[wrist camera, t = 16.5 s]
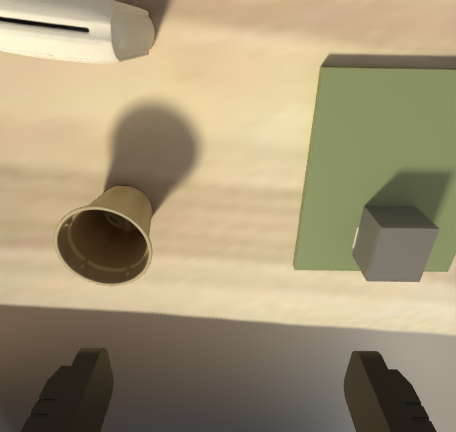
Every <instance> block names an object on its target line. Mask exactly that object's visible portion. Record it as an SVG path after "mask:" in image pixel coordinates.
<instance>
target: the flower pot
mask: <svg viewBox="0 0 456 432" xmlns="http://www.w3.org/2000/svg"><path fill="white" fill-rule="evenodd" d="M110 216H111V217H113V218H115V220H116V221H117V223H116V222H114V221H113V220H112V219H111V218H110ZM151 218H152V206H151V203H150V201H149V199H148V198H147V197H146V195H145V194H143V193H142V192H141V191H139V190H138V189H136V188H134V187H129V186H114V187H112V188H110V189H108V190H107V191H105V192H104V193H103V194H102V195H101V196H99V197H98V198H97V199H96V200H94V201H93V202H92V203H90V204H89V205H88V206H85V207H80V208H78V209H75V210H73V211H71V212H69V213H68V214H67V215H65V216H64V217H63V218H62V219H61V221H60V222H59V224H58V225H57V227H56V230H55V234H54V246H55V249H56V253H57V255H58V257H59V258H60V260H61V262H62V263H63V264H64V266H66V267H67V268H68V269H69V270H70V271H71V272H72V273H73V274H75V275H76V276H78V277H80V278H82V279H84V280H86V281H88V282H91V283H95V284H98V285H104V286H119V285H125V284H128V283H130V282H133V281H135V280H137V279H138V278H140V277H141V276H142V275H143V274H144V273H145V272H146V270H147V269H148V267H149V265H150V263H151V259H152V245H151V242H150V239H149V232H150V224H151Z"/></svg>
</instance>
